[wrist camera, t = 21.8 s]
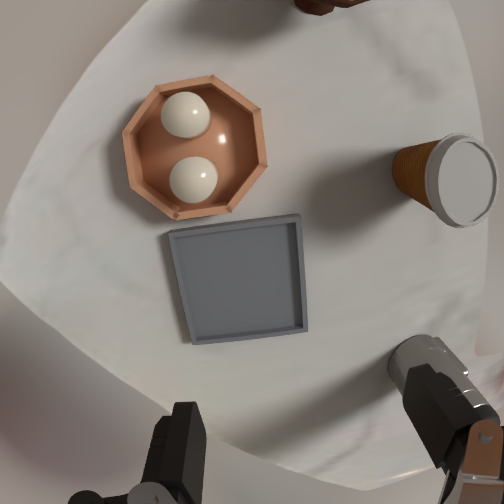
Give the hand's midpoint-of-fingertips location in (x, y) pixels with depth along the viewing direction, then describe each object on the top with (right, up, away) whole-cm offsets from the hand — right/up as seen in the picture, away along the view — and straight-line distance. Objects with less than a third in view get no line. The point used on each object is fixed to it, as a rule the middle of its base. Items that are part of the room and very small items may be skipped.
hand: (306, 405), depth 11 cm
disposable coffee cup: (+18, +16, +25) cm, 35 cm away
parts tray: (-3, +2, +29) cm, 29 cm away
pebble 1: (-9, +20, +22) cm, 31 cm away
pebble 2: (-8, +14, +24) cm, 29 cm away
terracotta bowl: (-8, +17, +24) cm, 30 cm away
